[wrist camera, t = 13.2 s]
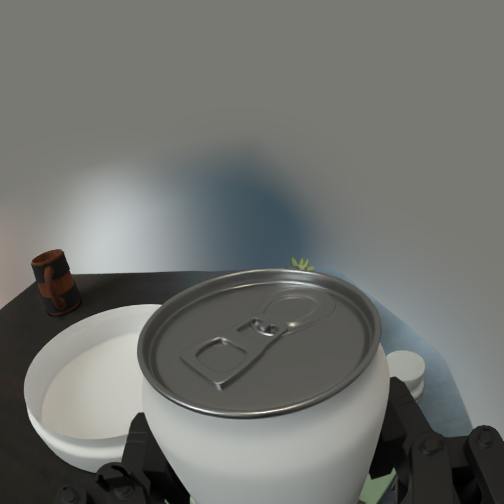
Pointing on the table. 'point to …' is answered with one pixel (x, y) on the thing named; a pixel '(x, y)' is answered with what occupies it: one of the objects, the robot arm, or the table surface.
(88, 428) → the white round shallow dish
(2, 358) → the table surface
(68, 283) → the mug
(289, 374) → the can
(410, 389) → the pill bottle
